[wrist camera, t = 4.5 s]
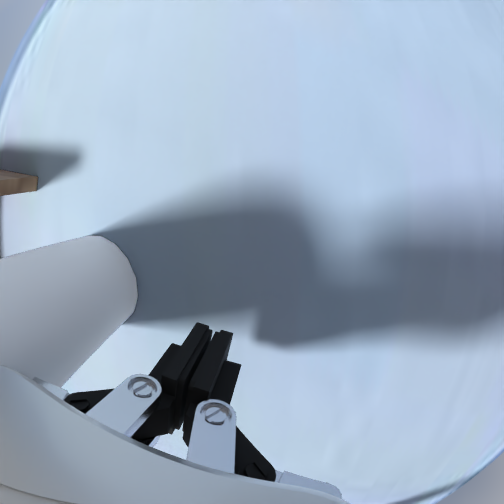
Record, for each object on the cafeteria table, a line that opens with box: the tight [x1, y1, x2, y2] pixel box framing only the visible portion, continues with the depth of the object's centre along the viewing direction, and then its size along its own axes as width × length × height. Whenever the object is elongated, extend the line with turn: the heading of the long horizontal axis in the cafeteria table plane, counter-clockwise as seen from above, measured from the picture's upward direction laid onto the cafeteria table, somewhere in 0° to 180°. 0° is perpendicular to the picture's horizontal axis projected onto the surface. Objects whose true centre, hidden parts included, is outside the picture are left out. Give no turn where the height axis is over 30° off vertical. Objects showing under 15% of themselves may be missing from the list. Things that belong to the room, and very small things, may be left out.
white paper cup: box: [0, 236, 138, 388], centre depth 10 cm, size 7×7×10 cm
